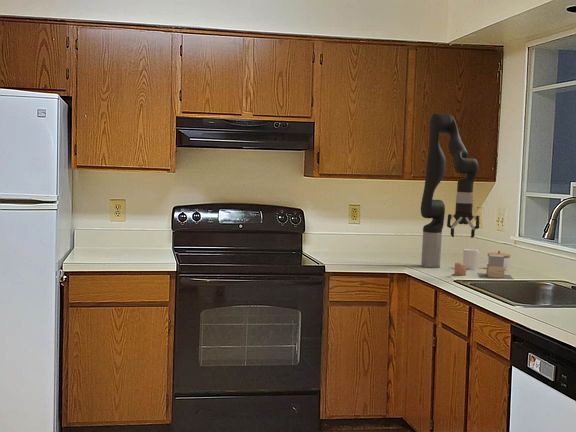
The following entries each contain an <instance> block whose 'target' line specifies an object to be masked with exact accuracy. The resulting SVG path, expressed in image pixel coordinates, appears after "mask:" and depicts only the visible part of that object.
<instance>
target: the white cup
mask: <svg viewBox="0 0 576 432" xmlns="http://www.w3.org/2000/svg"><path fill="white" fill-rule="evenodd" d="M462 251H463V252H462V253H463V255H462V263H465V264H466V270H473V271H476V270H478V269H479V263H480V255H481V254H480V253H481V250H480V249H476V248H464V249H463V250H462Z"/></svg>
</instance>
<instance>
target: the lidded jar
mask: <svg viewBox="0 0 576 432" xmlns="http://www.w3.org/2000/svg"><path fill="white" fill-rule="evenodd" d="M489 254H490V255H503V256H504V267H505V270H506V269H507V268H508V267H509V263H510V258H511V255H510V254H509V253H505V252H504V253H503V252H501V251H500V250H497V252H488V253H487V261H488V260H489Z"/></svg>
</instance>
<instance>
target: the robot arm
mask: <svg viewBox="0 0 576 432" xmlns="http://www.w3.org/2000/svg"><path fill="white" fill-rule="evenodd" d="M428 129H429V131H428V134H429V136H428V151H427V152H428V153H427V160H426V166H425V167H426V169H425V181H424V189H423V193H422V198H421V202H420V203H421V204H420V215H421V217H422V218H424V219H431V221H430V222H429V223H427V224H425V225H423V227H422V244H421V245H422V246H421V258H420V259H421V263H420V266H421V267H423V268H432V269H435V268H436V269H437V268H441V257H442V256H441V255H442V236H443V228H444V223H445V215H446V205H445V203H444V201H443V200H442V199H434V194H435V190H436V189H437V187H438V186H439V184H440V183H441V182H442V180H443V179H444V177H445V175H446V168H447V159H446V156H445V154H444V152H443V149H442V147H441V144H440V138H439V137H440V134H448V135H449V138H450V139H449V140H448V143H447V147H448V150H449V153H450V154H451V156H452V159H453V167H454V170H455V171H456V173H458V174H461V175H462V174H464V175H465V174H466V176H465V178H464V177H463V178H460V179H458V181H457V186H456V187H457V188H456V197H455V209H454V211H455V212H454V214H452V213H451V214H450V213H449V214H448V215H447V222H446V227H447V228H450V236H451V237H452V238H454V237H455V228H456V226H457V225H468V226H470V228H471V229H470V239H473V238H474V237H475V236H476V234H475V232H476V230H478V229H479V228H480V216H479V215H473V207H474V205H473V204H474V183H475V180H476V177H477V174H478V171H479V163H478V160H477V159H476V158H468V157H469V152H468V151H467V149H466V146H465V145H464V143H463V141H462V139H461V138H462V137H461V135H460V133H459V129H458V125H457V121H456V120H455V118H454V116H453V115H452V114H449V113H433V114H432V115H431V117H430V119H429V128H428ZM453 218H454V220H455V221H454V222H453V223H452V224H451V222H452V221H451V220H452V219H453ZM473 219H474V221H475V225H474V224H473V223H472V220H473Z"/></svg>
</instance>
